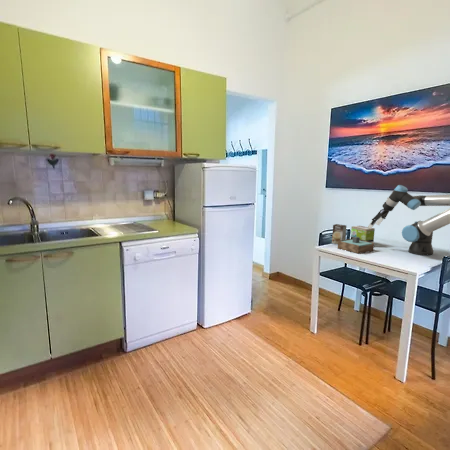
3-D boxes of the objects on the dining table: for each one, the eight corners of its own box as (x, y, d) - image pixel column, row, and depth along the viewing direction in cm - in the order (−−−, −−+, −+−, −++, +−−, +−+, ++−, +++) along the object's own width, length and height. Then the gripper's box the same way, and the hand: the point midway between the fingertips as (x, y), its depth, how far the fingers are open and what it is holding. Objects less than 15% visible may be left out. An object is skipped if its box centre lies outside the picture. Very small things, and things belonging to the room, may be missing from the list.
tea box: (349, 243, 240) (351, 226, 238) (358, 242, 244) (359, 225, 242) (365, 247, 227) (366, 228, 224) (373, 245, 231) (375, 228, 228)
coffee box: (331, 243, 239) (332, 224, 237) (335, 242, 243) (336, 223, 241) (341, 245, 232) (343, 226, 230) (345, 244, 236) (346, 225, 234)
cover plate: (372, 244, 214) (372, 238, 213) (358, 246, 206) (358, 240, 205) (353, 240, 228) (354, 234, 227) (339, 242, 220) (340, 236, 219)
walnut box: (373, 250, 214) (373, 242, 213) (357, 253, 206) (358, 245, 205) (352, 245, 230) (353, 238, 229) (337, 248, 221) (338, 240, 220)
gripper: (392, 199, 220) (376, 220, 233) (378, 203, 205) (361, 225, 217) (401, 204, 216) (384, 225, 229) (387, 209, 201) (370, 231, 213)
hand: (373, 225), depth 223 cm, fingers open, 13 cm apart
